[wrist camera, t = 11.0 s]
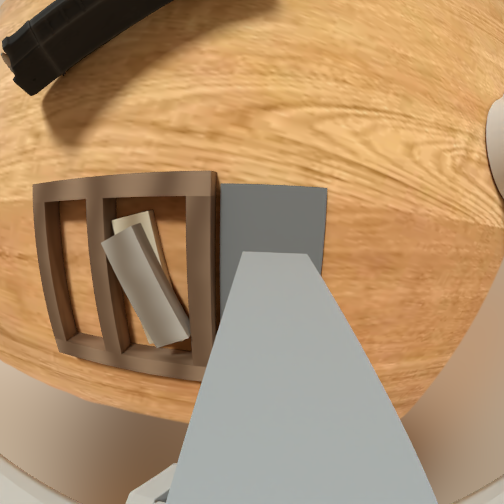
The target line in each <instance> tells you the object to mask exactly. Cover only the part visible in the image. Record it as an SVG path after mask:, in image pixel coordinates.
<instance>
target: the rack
mask: <svg viewBox="0 0 504 504" xmlns="http://www.w3.org/2000/svg"><path fill="white" fill-rule="evenodd" d="M148 196H186V254H187V282H188V302H189V318H190V332H191V345H192V351H184V350H176V349H168V348H160V347H159V348H157V347H154V346H147V345H141V344H135V343H131V341H130V336H129V330H128V324H127V318H126V312H125V305H124V298H123V291H122V286H121V284H120V282H119V280H118V278H117V276H116V274H115V272H114V270H113V268H112V266H111V264H110V262H109V260H108V257H107V255H106V253H105V251H104V249H103V247H102V244H101V243H102V242H103V241H105V240H107V239H109V238H110V237H112V236H114V235H115V233H114V229H113V225H112V220H115V219H117V217H116V198H117V197H148ZM79 199H86V217H87V233H88V246H89V256H90V265H91V273H92V280H93V287H94V294H95V300H96V305H97V311H98V316H99V321H100V326H101V331H102V335H103V338H102V337H97V336H93V335H88V334H84V333H79V332H77V330H76V326H75V321H74V317H73V313H72V308H71V303H70V298H69V293H68V287H67V281H66V275H65V268H64V261H63V252H62V243H61V232H60V218H59V201H64V200H79ZM33 213H34V227H35V238H36V247H37V255H38V262H39V269H40V275H41V281H42V286H43V291H44V296H45V301H46V305H47V310H48V314H49V318H50V322H51V325H52V329H53V333H54V336H55V340H56V343H57V346H58V349H59V352H61V353H65V354H68V355H71V356H75V357H78V358H82V359H85V360H89V361H93V362H97V363H101V364H105V365H109V366H113V367H118V368H122V369H127V370H132V371H137V372H142V373H147V374H153V375H159V376H165V377H171V378H178V379H185V380H193V381H201V382H202V380H203V377H204V374H205V370H206V367H207V364H208V361H209V357H210V354H211V351H212V348H213V344H214V341H215V338H216V335H217V326H216V259H215V240H216V172H214V171H173V172H150V173H133V174H119V175H106V176H96V177H86V178H77V179H68V180H61V181H53V182H46V183H40V184H33Z"/></svg>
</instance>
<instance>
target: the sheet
mask: <svg viewBox="0 0 504 504" xmlns="http://www.w3.org/2000/svg"><path fill="white" fill-rule="evenodd" d="M166 504H438V502H437V500H436V498H435V495H434V493H433V491H432V488H431V486H430V483H429V481H428V479H427V477H426V474H425V472H424V470H423V467H422V465H421V463H420V461H419V459H418V456H417V454H416V452H415V450H414V448H413V446H412V444H411V442H410V440H409V437H408V435H407V433H406V431H405V429H404V427H403V425H402V423H401V421H400V419H399V417H398V415H397V413H396V411H395V409H394V407H393V405H392V403H391V401H390V399H389V397H388V395H387V393H386V391H385V389H384V387H383V386H382V384H381V382H380V380H379V378H378V376H377V374H376V372H375V370H374V369H373V367H372V365H371V363H370V361H369V359H368V357H367V356H366V354H365V352H364V350H363V348H362V347H361V345H360V343H359V341H358V339H357V338H356V336H355V334H354V332H353V330H352V329H351V327H350V325H349V323H348V322H347V320H346V318H345V316H344V315H343V313H342V311H341V310H340V308H339V306H338V304H337V303H336V301H335V299H334V298H333V296H332V294H331V292H330V291H329V289H328V287H327V286H326V284H325V282H324V281H323V279H322V277H321V276H320V274H319V272H318V271H317V269H316V268H315V266H314V264H313V263H312V261H311V259H310V258H309V256H308V255H307V254H298V253H272V252H245V251H243V252H242V255H241V259H240V262H239V265H238V268H237V271H236V274H235V277H234V281H233V284H232V287H231V290H230V293H229V296H228V300H227V303H226V306H225V309H224V312H223V316H222V319H221V322H220V325H219V328H218V332H217V335H216V338H215V341H214V344H213V348H212V351H211V354H210V357H209V361H208V364H207V367H206V370H205V374H204V377H203V380H202V383H201V387H200V390H199V393H198V396H197V400H196V403H195V406H194V410H193V413H192V416H191V419H190V423H189V426H188V429H187V433H186V436H185V440H184V443H183V446H182V449H181V453H180V456H179V460H178V463H177V466H176V470H175V473H174V476H173V480H172V483H171V487H170V490H169V494H168V497H167V500H166Z"/></svg>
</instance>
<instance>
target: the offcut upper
mask: <svg viewBox="0 0 504 504" xmlns="http://www.w3.org/2000/svg"><path fill="white" fill-rule="evenodd" d="M101 244H102V247H103V249H104V251H105V253H106V255H107V257H108V260H109V262H110V264H111V266H112V268H113V270H114V272H115V274H116V276H117V278H118V280H119V282H120V284H121V286H122V288H123V290H124V292H125V293H126V295H127V297H128V299H129V301H130V303H131V305H132V306H133V308H134V310H135V312H136V314H137V315H138V317H139V319H140V321H141V322H142V324H143V326H144V327H145V329H146V331H147V332H148V334H149V336H150V337H151V339H152V341H153V342H154V344H155V346H156V347H157V348H159V347H162V346H165V345H169V344H172V343H175V342H178V341H181V340H184V339H188V338H189V336H190V334H191V332H190V320H189V319H188V317H187V315H186V313H185V311H184V310H183V308H182V306H181V304H180V302H179V300H178V298H177V296H176V295H175V293H174V291H173V289H172V287H171V285H170V283H169V281H168V279H167V277H166V275H165V273H164V271H163V269H162V267H161V265H160V263H159V261H158V259H157V257H156V255H155V253H154V251H153V248H152V246H151V244H150V242H149V240H148V238H147V236H146V233H145V231H144V229H143V227H142V225H141V223H138V224H135V225H132V226H130V227H128V228H126V229H125V230H123V231H121V232H119V233H117V234H116V235H114V236H112V237H110V238H109V239H107V240H105V241H103V242H102V243H101Z"/></svg>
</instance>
